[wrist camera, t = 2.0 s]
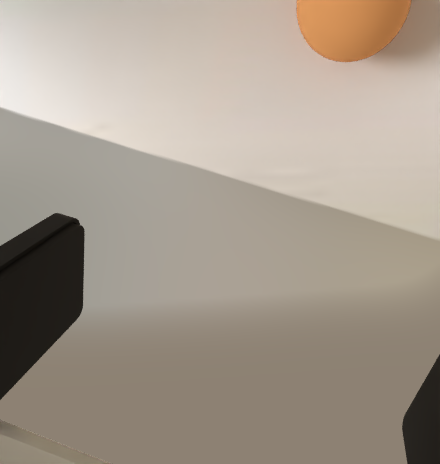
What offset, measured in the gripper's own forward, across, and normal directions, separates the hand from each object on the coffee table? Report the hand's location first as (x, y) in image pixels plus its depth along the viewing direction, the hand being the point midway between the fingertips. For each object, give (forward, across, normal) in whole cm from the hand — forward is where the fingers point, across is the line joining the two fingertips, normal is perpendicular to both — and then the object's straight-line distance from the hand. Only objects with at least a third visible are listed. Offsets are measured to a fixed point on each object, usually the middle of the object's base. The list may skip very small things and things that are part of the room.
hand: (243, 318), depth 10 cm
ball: (+18, 0, -8) cm, 20 cm away
